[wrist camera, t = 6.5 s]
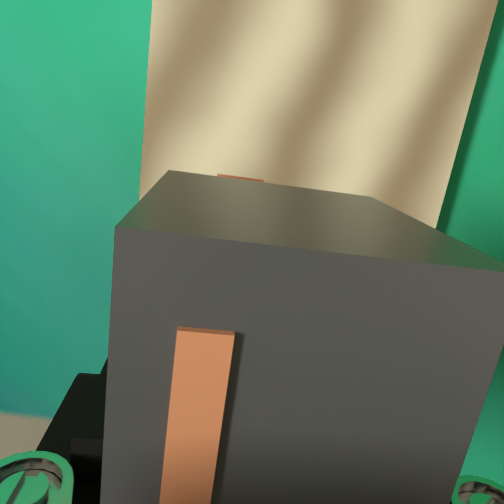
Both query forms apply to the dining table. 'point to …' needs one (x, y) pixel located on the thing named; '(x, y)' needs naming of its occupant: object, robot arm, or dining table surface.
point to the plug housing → (292, 348)
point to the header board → (315, 93)
